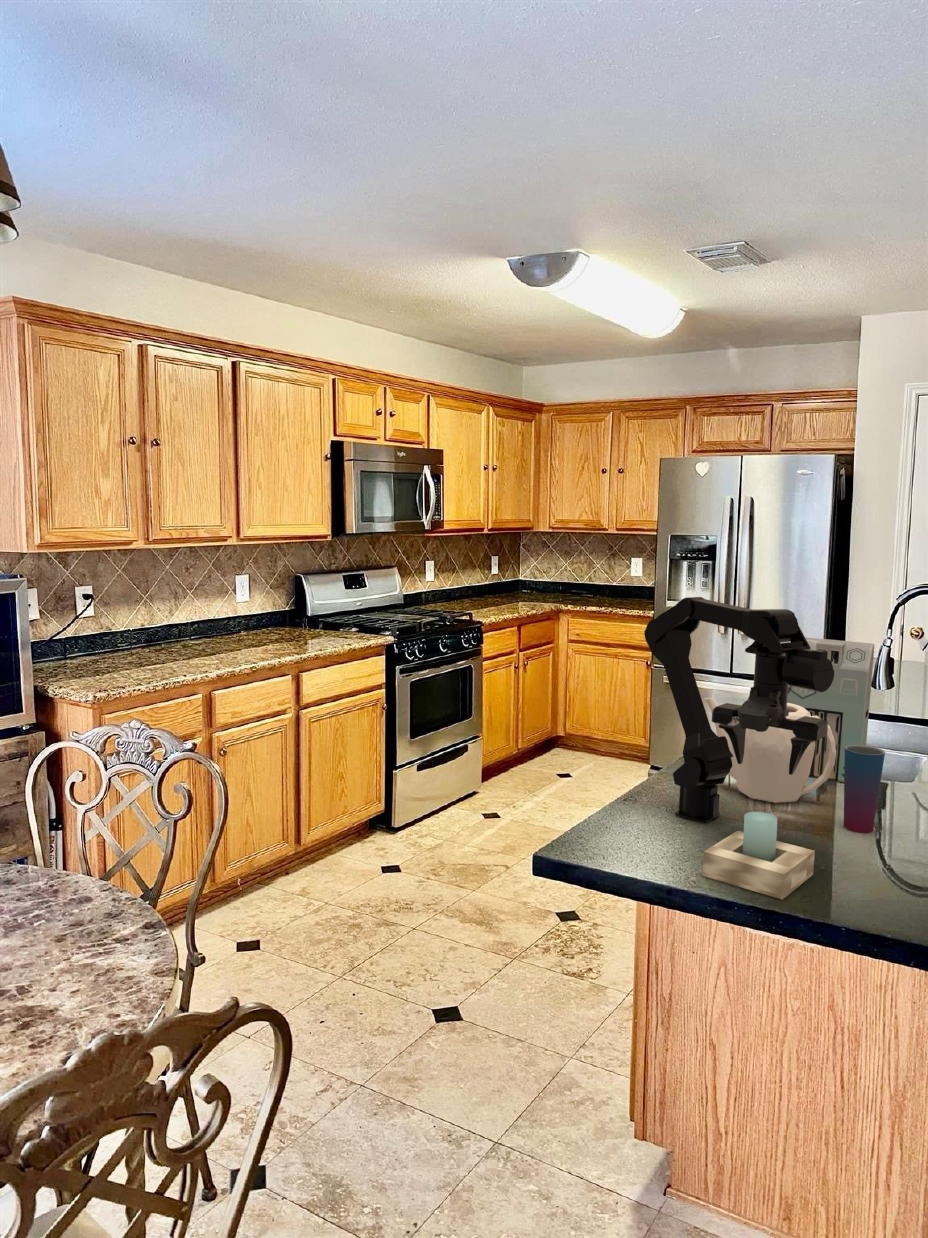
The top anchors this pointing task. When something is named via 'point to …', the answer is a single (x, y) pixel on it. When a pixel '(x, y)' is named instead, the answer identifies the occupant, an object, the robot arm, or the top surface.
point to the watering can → (775, 761)
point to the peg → (760, 835)
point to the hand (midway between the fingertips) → (765, 769)
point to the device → (839, 701)
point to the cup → (861, 786)
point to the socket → (758, 867)
